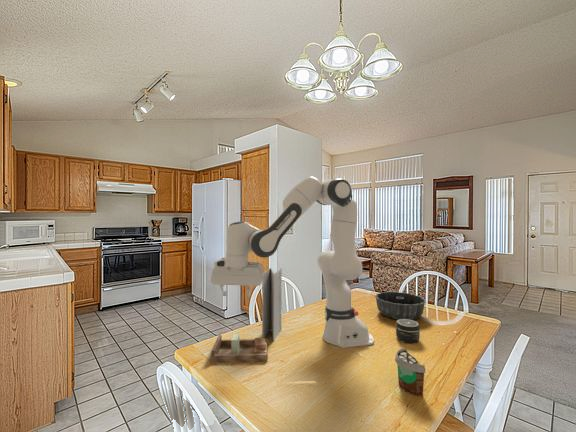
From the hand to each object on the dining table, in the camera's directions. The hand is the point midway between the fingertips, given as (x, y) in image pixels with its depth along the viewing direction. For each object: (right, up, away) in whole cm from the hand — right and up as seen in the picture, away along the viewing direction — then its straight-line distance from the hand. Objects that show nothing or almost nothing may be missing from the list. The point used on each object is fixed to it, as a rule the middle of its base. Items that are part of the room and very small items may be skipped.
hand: (236, 295), depth 116 cm
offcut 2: (+10, -23, 0) cm, 25 cm away
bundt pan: (+83, -24, +45) cm, 98 cm away
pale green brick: (0, -23, -1) cm, 23 cm away
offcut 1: (+10, -21, 0) cm, 23 cm away
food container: (+59, -24, -22) cm, 67 cm away
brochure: (+13, -23, +18) cm, 33 cm away
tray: (+2, -23, 0) cm, 23 cm away
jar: (+75, -24, +14) cm, 79 cm away
